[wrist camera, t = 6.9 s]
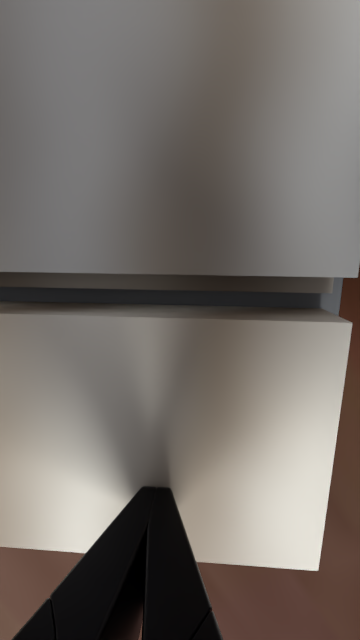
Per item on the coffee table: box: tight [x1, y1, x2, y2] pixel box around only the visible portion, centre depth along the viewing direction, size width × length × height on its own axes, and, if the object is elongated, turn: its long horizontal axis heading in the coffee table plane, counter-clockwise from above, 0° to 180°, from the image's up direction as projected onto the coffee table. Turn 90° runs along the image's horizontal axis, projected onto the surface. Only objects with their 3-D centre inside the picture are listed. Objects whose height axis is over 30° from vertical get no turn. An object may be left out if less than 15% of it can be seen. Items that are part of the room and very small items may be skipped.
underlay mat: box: [0, 277, 343, 316], centre depth 10 cm, size 19×17×1 cm
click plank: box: [0, 301, 352, 571], centre depth 9 cm, size 18×7×2 cm, turn 89°
